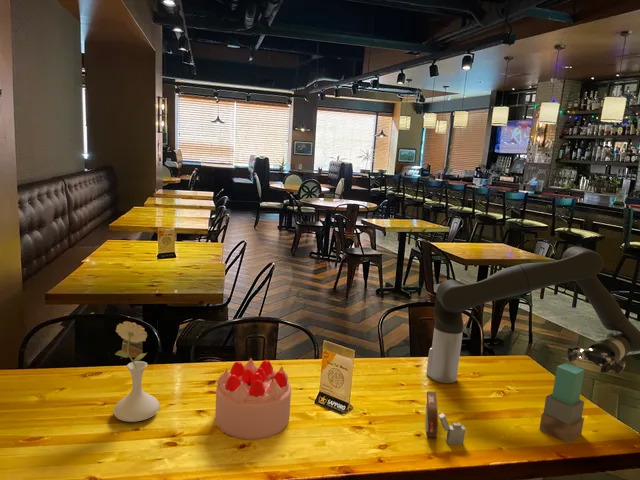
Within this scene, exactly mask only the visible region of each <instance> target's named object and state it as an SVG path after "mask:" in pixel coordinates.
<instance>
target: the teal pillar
mask: <svg viewBox="0 0 640 480" xmlns="http://www.w3.org/2000/svg"><path fill="white" fill-rule="evenodd" d="M585 371H586V370H585V369H584V368H581V367H578V366H576V365H573V364H571V363H568V362H564V363H561V364H560V365H557V366H556V371H555V377H554V384H553V389H552V393H553V394H552V393H551V394H552V397H553V398H555V399H557V400H560V401H562V402H564V403H566V404H568V405H572V404H574V403H576V402H578V401H579V399H580V398H581V393H582V386H583V382H584V375H585ZM580 400H581V399H580Z"/></svg>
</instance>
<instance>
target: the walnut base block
mask: <svg viewBox="0 0 640 480" xmlns="http://www.w3.org/2000/svg"><path fill="white" fill-rule="evenodd" d="M584 421H585V417H583V416H582V418H581V419H579V420H578V421H576V422H574V423H572V424H571V425H567V424H565V423H563V422H561V421H559V420H557V419H555V418H553V417H550V416H548V415H546V414H544V413H543V412H542V413H541V417H540V423H539V431H541V432H543V433H545V434H547V435H549V436H552V437H554V438H556V439H557V440H560V441H562V442H564V443H566V444H567V445H570V444H571V443H573V442H574V441H575V440H576V439H578V438H579V437H580V436H582V433H583V428H584V427H583V426H584Z"/></svg>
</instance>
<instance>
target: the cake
mask: <svg viewBox="0 0 640 480" xmlns="http://www.w3.org/2000/svg"><path fill="white" fill-rule="evenodd" d="M215 391H216V393H215V411H214V412H215V414H214V415H215V423H216V426H217V427H218V428H219V429H220V431H222V432H223V433H225V434H227V435H228V436H230V437H233V438H236V439H243V440H250V441H251V440H261V439H267V438H270V437H272V436H275V435H277V434H279V433H280V432H282V431H283V430H284V429H285V428H286V427H287V425H288V424H289V421H290V413H291V397H292V386H291V385H290V381H289V375H288V374H287V373H286V372H285V370H284V367H283V366H282V365H281V367H280V368H279V369H278V371H276V370H274V366H273V365H272V362H270V361H269V360H268V359H265V360H263V361H262V362H261V363H260V365H259V366H257V365H256V363H255V362H254V360H253V359H252V357H250V358H249V360H248V361H247V363H245V364H243V363H242V361H240V360H238V361H234V363H233V365H232V366H231V368H230V370H229V371H228V368H225V370H224V372H223V373H222V374H221V375H220V376H219V377H218V379H217V385H216V390H215Z"/></svg>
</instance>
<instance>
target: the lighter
mask: <svg viewBox="0 0 640 480" xmlns="http://www.w3.org/2000/svg"><path fill="white" fill-rule="evenodd" d="M438 419H439V421H440V423H441V426H442V429H444V431H445V432H446V439H445V442H446V443H447V444H448V445H449V446H456V445H458V446H462V445H464V443H465V435H466V427H465V426H464V425H463V424H461V423H460V422H453V423H452V425H449V422H448V420H447V416H446V415H445V413H443V412H442V413H440V414H439V413H438Z"/></svg>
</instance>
